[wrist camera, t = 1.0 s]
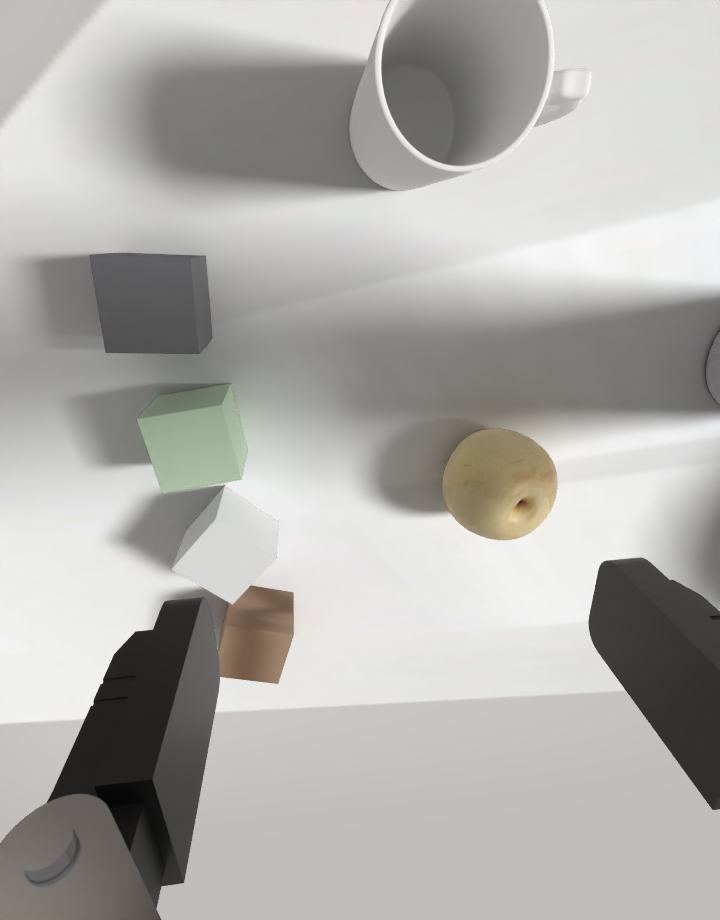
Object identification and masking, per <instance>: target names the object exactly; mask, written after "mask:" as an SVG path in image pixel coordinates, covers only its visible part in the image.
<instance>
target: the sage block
mask: <svg viewBox="0 0 720 920" xmlns="http://www.w3.org/2000/svg"><path fill="white" fill-rule="evenodd" d="M137 422H138V425H139V428H140V430H141V433H142V436H143V439H144V442H145V445H146V448H147V451H148V453H149V456H150V459H151V462H152V465H153V468H154V471H155V474H156V477H157V479H158V482H159V485H160V488H161V491H162V493H168V492H174V491H179V490H185V489H191V488H196V487H202V486H208V485H213V484H219V483H225V482H230V481H236V480H242V475H243V471H244V466H245V461H246V457H247V452H248V447H247V444H246V440H245V436H244V432H243V428H242V424H241V420H240V416H239V412H238V408H237V404H236V400H235V396H234V392H233V389H232V385H231V383H230V384H224V385H218V386H212V387H206V388H200V389H194V390H188V391H182V392H176V393H170V394H164V395H158V396H157V397H156V398H155V399H154V400H153V401H152V402H151V404H150V405H149V406H148V407H147V408H146V409H145V410H144V412H143V413H142V414H141V415H140V416H139V417H138V418H137Z"/></svg>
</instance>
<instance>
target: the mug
mask: <svg viewBox="0 0 720 920" xmlns="http://www.w3.org/2000/svg"><path fill="white" fill-rule="evenodd" d="M553 69H554V39H553V31H552V26H551V21H550V17H549V14H548V11H547V8H546V5H545V3H544V0H390V1H389V3H388V5H387V7H386V10H385V12H384V14H383V17H382V20H381V23H380V26H379V29H378V32H377V34H376V37H375V40H374V43H373V46H372V49H371V52H370V55H369V58H368V61H367V64H366V66H365V69H364V72H363V75H362V78H361V81H360V84H359V87H358V89H357V92H356V95H355V99H354V103H353V106H352V110H351V115H350V123H349V134H350V142H351V147H352V150H353V153H354V156H355V158H356V160H357V162H358V164H359V166H360V167H361V169H362V170H363V171H364V173H365V174H366V175H367V176H368V177H369V178H370V179H371V180H373V181H374V182H375V183H377V184H379V185H380V186H382V187H385V188H388V189H391V190H398V191H405V190H411V189H415V188H421V187H424V186H427V185H430V184H434V183H437V182H440V181H444V180H447V179H451V178H454V177H458V176H461V175H464V174H467V173H469V172H472V171H474V170H478V169H482V168H485V167H487V166H489V165H492V164H494V163H495V162H497V161H499V160H501V159H502V158H504V157H505V156H506V155H508V154H509V153H510V152H511V151H513V150H514V149H515V148H516V147H517V146H518V145H519V144H520V143H521V142H522V141H523V139H524V138H525V137H526V136H527V134H528V133H529V132H530V130H531V129H532V128H533V127H536V126H539V125H542V124H545V123H548V122H551V121H553V120H556V119H558V118H561V117H563V116H565V115H567V114H569V113H571V112H572V111H574V110H575V109H577V108H578V106H579V105H580V104H581V102H582V100H583V98H585V97H586V96H587V94H588V92H589V89H590V84H591V72H590V71H589V70H588V69H566V70H562V71H553Z"/></svg>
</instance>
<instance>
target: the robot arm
mask: <svg viewBox="0 0 720 920" xmlns="http://www.w3.org/2000/svg"><path fill="white" fill-rule="evenodd" d="M706 379H707V384H708V388H709V390H710V392H711V394H712V397H713V398H714V399H715V400H716V401H717V402H718V403H719V404H720V332H719V333H718V335H717V336H716V338H715V340H714V342H713V345H712V347H711V349H710V352H709V356H708V360H707V364H706ZM589 631H590V636H591V639H592V642H593V644H594V646H595V648H596V650H597V651H598V653H599V654H600V655H601V657H602V658H603V660H604V661H605V662H606V664H607V665H608V666H609V668H610V669H611V671H612V672H613V673H614V675H615V676H616V677H617V679H618V680H619V682H620V683H621V684H622V686H623V687H624V688H625V690H626V691H627V693H628V694H629V695H630V697H631V698H632V699H633V701H634V702H635V704H636V705H637V706H638V708H639V709H640V710H641V712H642V713H643V715H644V716H645V717H646V719H647V720H648V722H649V723H650V724H651V726H652V727H653V728H654V730H655V731H656V732H657V734H658V735H659V737H660V738H661V739H662V741H663V742H664V744H665V745H666V746H667V748H668V749H669V750H670V752H671V753H672V755H673V756H674V757H675V758H676V760H677V761H678V763H679V764H680V766H681V767H682V768H683V770H684V771H685V772H686V774H687V775H688V777H689V778H690V779H691V781H692V782H693V783H694V785H695V786H696V787H697V789H698V790H699V792H700V793H701V794H702V796H703V797H704V799H705V800H706V801H707V803H708V804H709V806H710V807H711V808H712V809H713V810H717V809H720V611H718V610H717V609H716V608H715V607H714V606H713V605H712V604H710V603H709V602H708V601H707V600H706V599H705V598H704V597H702V596H701V595H700V594H698V593H696V592H694V591H692V590H690V589H689V588H687V587H685V586H683V585H681V584H680V583H678V582H676V581H674V580H669V579H668V578H667V577H666V576H664V575H663V574H662V573H661V572H660V571H659V570H658V569H657V568H656V567H655V566H654V565H652V564H651V563H650V562H649V561H648V560H646V559H644V558H630V559H620V560H609V561H604V562H603V563H602V564H601V565H600V567H599V571H598V575H597V580H596V585H595V590H594V595H593V600H592V605H591V610H590V615H589ZM219 683H220V662H219V655H218V649H217V644H216V639H215V634H214V628H213V623H212V618H211V613H210V607H209V603H208V600H207V599H206V598H205V597H202V598H191V599H180V600H170V601H165V602H164V604H163V605H162V608H161V610H160V613H159V615H158V618H157V621H156V623H155V626H154V629H153V630H147V631H137V632H135V633H134V634H133V635H132V636H131V637H130V638H129V639H128V640H127V641H126V642H125V643H124V644H123V645H122V647H121V648H120V649H119V650H118V651H117V652H116V653H115V654H114V656H113V658H112V661H111V663H110V665H109V667H108V669H107V672H106V674H105V676H104V678H103V684H101V685H100V687H99V690H98V692H97V694H96V696H95V698H94V705H93V706H91V707H90V710H89V712H88V714H87V716H86V718H85V721H84V723H83V725H82V728H81V730H80V732H79V734H78V736H77V738H76V741H75V743H74V745H73V748H72V750H71V752H70V754H69V756H68V759H67V761H66V763H65V765H64V768H63V770H62V772H61V775H60V776H59V778H58V781H57V783H56V785H55V787H54V790H53V792H52V794H51V796H50V798H49V799H48V801H47V803H46V804H44V805H43V806H41V807H39V808H37V809H36V810H34V811H33V812H32V813H30V814H29V815H27V816H26V817H25V818H24V819H23V820H21V821H20V822H19V823H18V824H17V825H16V826H15V827H14V828H13V829H12V830H11V831H10V832H9V833H8V834H7V835H6V837H5V838H4V839H3V840H2V842H1V843H0V920H161V918H160V916H159V914H158V912H157V909H156V908H157V904H158V899H159V894H160V890H161V886H166V885H173V884H180V883H184V880H185V874H186V868H187V863H188V858H189V852H190V847H191V841H192V835H193V830H194V824H195V819H196V813H197V808H198V802H199V796H200V791H201V785H202V780H203V774H204V769H205V763H206V758H207V753H208V747H209V742H210V736H211V730H212V725H213V719H214V714H215V708H216V703H217V697H218V692H219Z"/></svg>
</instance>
